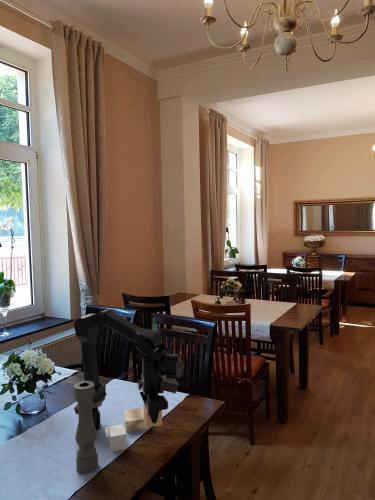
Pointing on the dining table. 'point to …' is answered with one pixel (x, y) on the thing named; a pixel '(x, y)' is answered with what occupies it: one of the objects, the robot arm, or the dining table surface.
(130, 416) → the maple base block
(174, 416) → the dining table surface
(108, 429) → the card
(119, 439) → the white cube
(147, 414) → the terracotta block
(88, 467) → the candle holder
